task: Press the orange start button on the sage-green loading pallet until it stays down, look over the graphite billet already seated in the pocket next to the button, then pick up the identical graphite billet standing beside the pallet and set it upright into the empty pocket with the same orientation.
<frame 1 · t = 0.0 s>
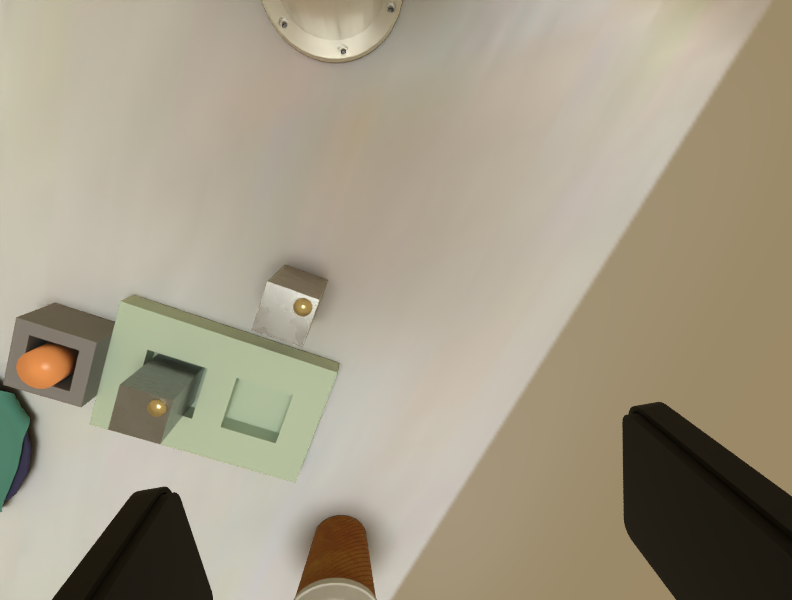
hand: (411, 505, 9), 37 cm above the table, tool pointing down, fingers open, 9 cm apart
start button: (49, 363, 40), point 5 cm above the table, slide at 0.0 cm
loading pallet: (221, 387, 47), on the table
graphite billet: (299, 292, 45), on the table
seated billet: (178, 376, 46), resting on loading pallet
disposable coffee cup: (340, 535, 53), on the table
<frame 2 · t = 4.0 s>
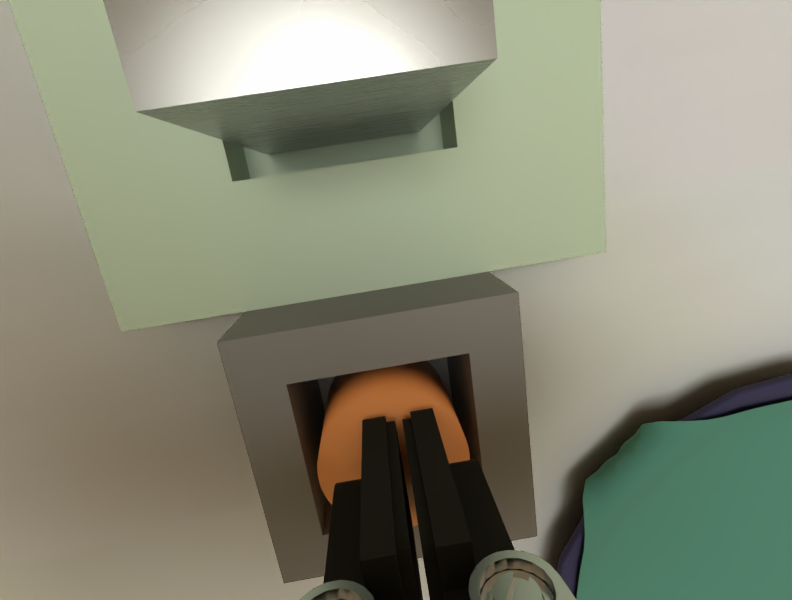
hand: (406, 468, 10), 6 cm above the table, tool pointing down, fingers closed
start button: (390, 431, 12), point 4 cm above the table, slide at 0.8 cm, touching gripper
seated billet: (330, 60, 13), resting on loading pallet
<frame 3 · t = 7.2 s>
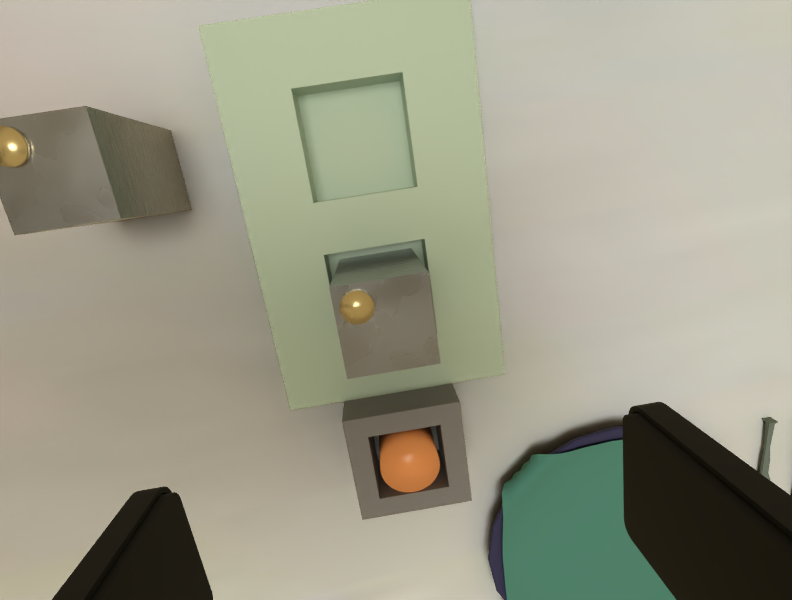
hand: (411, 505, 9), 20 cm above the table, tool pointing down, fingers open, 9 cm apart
start button: (407, 451, 27), point 4 cm above the table, slide at 1.1 cm
loading pallet: (369, 218, 27), on the table
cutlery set: (659, 511, 36), on the table
graphite billet: (143, 176, 26), on the table
seated billet: (381, 288, 28), resting on loading pallet
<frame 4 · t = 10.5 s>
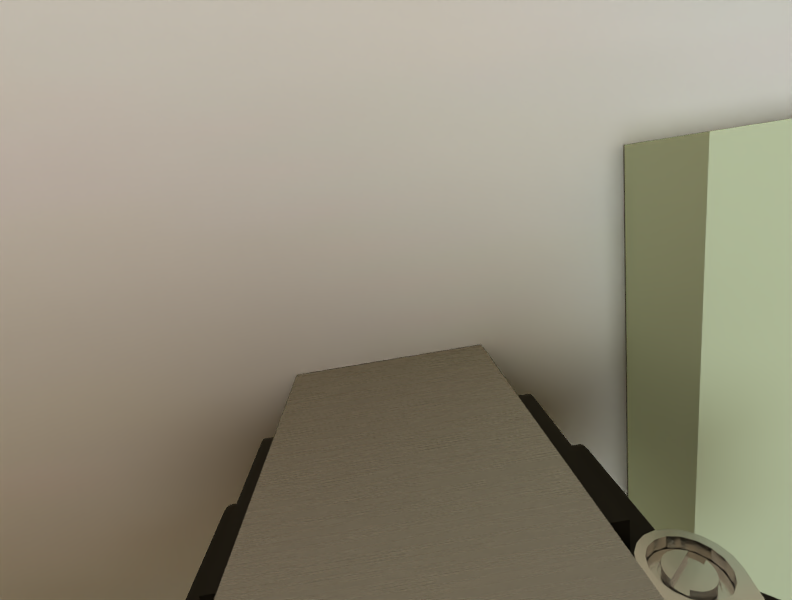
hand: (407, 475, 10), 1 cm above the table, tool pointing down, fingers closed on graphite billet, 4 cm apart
graphite billet: (402, 440, 11), on the table, touching gripper
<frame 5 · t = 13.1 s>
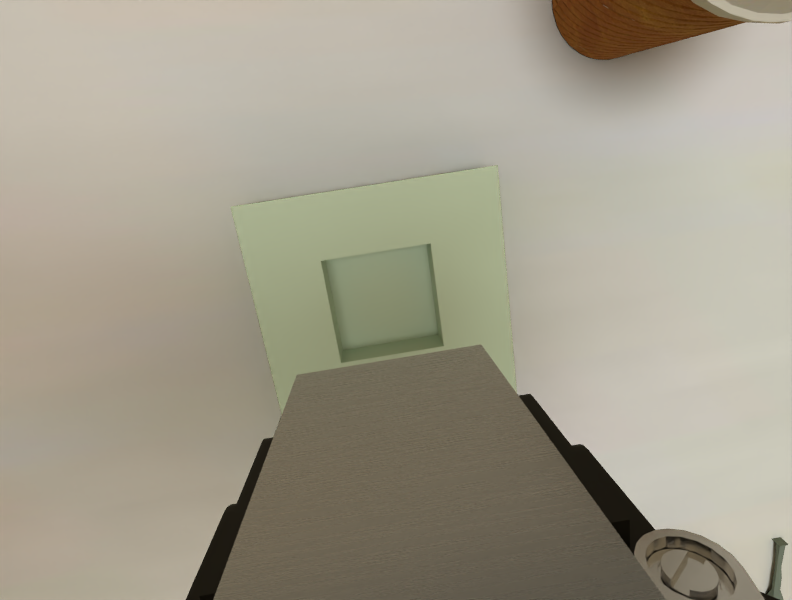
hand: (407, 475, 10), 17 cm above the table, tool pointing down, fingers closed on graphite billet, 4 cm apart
loading pallet: (393, 361, 28), on the table
graphite billet: (402, 440, 11), point 16 cm above the table, touching gripper
when the fingers open (4 cm above the table, at t = 15.9 s): graphite billet drops 2 cm, resting on loading pallet.
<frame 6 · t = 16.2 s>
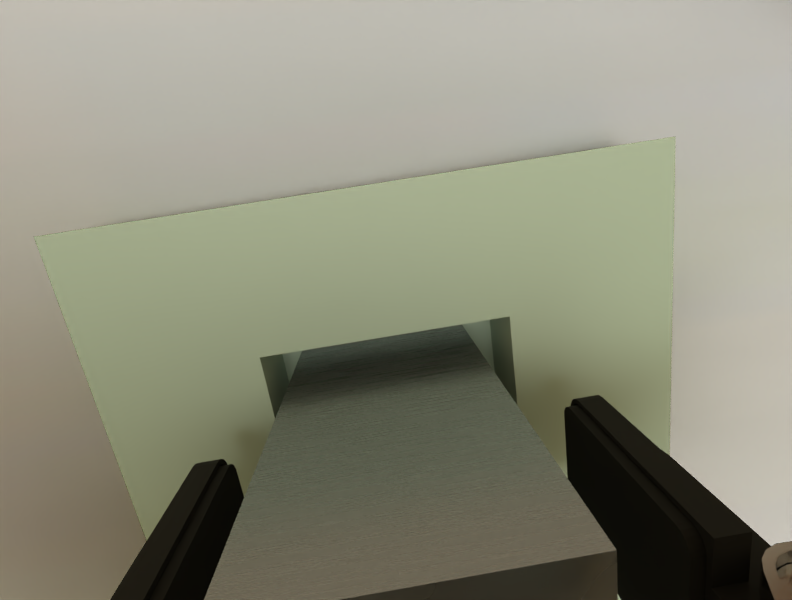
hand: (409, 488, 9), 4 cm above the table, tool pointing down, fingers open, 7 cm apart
loading pallet: (416, 518, 15), on the table
graphite billet: (394, 408, 13), resting on loading pallet
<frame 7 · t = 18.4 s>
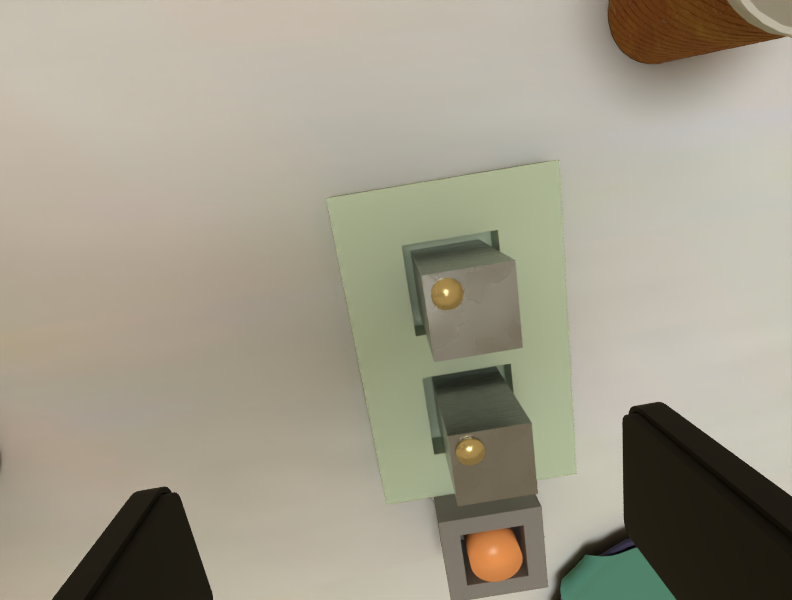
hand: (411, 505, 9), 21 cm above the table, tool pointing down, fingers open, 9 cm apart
start button: (491, 543, 31), point 4 cm above the table, slide at 1.1 cm
loading pallet: (457, 337, 31), on the table
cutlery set: (705, 589, 39), on the table
graphite billet: (448, 278, 29), resting on loading pallet
seated billet: (465, 396, 32), resting on loading pallet
disposable coffee cup: (657, 7, 26), on the table
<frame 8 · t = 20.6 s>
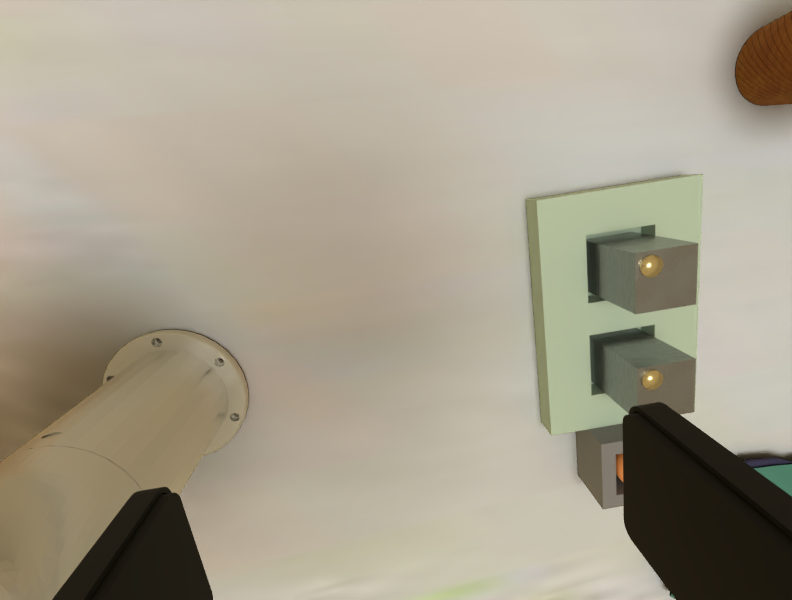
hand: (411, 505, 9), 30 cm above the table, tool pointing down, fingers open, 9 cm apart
start button: (632, 463, 41), point 4 cm above the table, slide at 1.1 cm
loading pallet: (606, 306, 41), on the table
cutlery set: (773, 514, 49), on the table
graphite billet: (607, 260, 39), resting on loading pallet
seated billet: (610, 352, 41), resting on loading pallet
disposable coffee cup: (769, 65, 36), on the table
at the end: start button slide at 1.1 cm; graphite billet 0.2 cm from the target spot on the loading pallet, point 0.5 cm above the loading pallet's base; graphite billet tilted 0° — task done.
